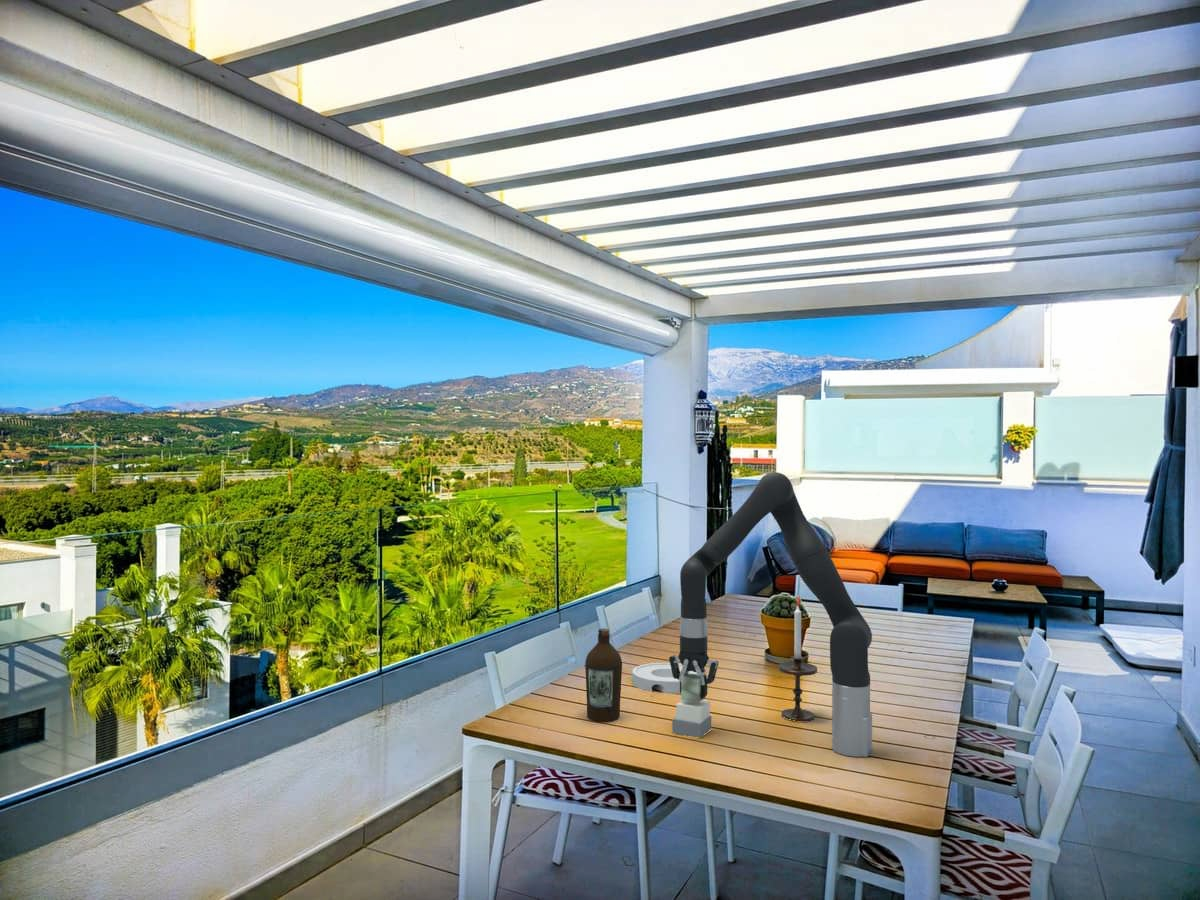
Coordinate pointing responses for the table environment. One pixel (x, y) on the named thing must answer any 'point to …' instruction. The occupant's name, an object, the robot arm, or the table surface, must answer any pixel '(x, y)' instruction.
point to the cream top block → (693, 711)
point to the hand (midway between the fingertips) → (693, 696)
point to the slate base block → (691, 727)
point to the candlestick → (797, 672)
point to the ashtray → (656, 677)
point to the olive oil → (603, 680)
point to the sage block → (691, 688)
